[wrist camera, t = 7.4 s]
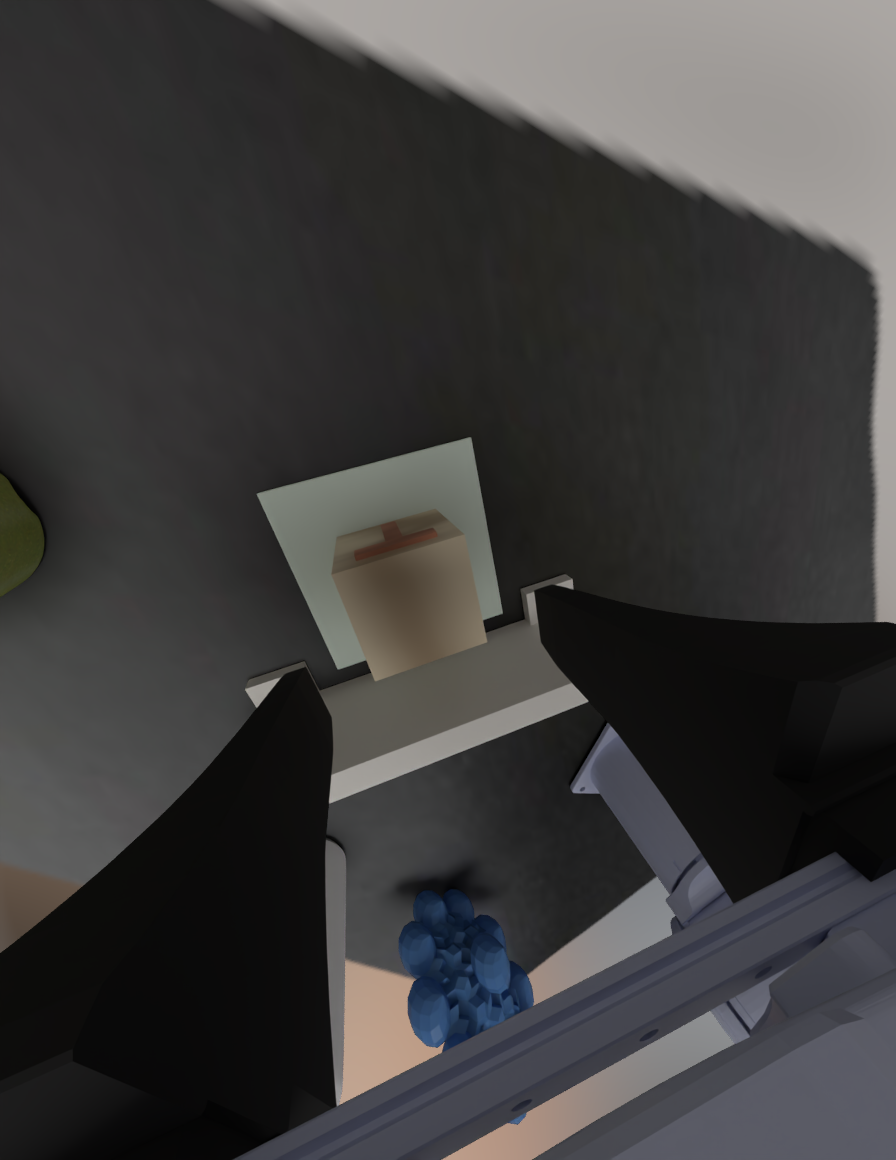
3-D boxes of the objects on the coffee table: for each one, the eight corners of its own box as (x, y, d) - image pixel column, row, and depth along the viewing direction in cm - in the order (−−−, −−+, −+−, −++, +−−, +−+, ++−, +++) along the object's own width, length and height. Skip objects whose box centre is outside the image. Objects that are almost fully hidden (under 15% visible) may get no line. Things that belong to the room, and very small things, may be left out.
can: (247, 897, 25) (169, 1243, 14) (252, 836, 23) (165, 1187, 12) (340, 884, 27) (332, 1178, 16) (352, 827, 25) (352, 1121, 14)
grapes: (524, 865, 33) (608, 1074, 22) (483, 911, 34) (544, 1129, 23) (422, 850, 28) (466, 1106, 17) (379, 903, 29) (395, 1173, 19)
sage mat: (468, 437, 17) (470, 437, 16) (500, 610, 21) (502, 613, 21) (258, 492, 15) (256, 494, 15) (338, 665, 20) (338, 669, 19)
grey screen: (572, 571, 21) (646, 617, 16) (578, 648, 24) (643, 710, 19) (239, 682, 19) (194, 782, 13) (286, 756, 21) (264, 865, 16)
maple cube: (434, 504, 17) (463, 529, 13) (456, 594, 20) (487, 642, 15) (335, 533, 17) (329, 569, 12) (369, 622, 19) (375, 681, 14)
